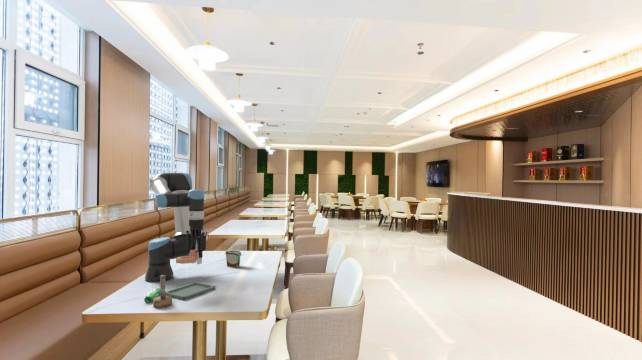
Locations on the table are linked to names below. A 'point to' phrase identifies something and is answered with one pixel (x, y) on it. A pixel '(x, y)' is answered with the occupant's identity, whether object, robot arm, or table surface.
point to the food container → (233, 258)
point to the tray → (189, 291)
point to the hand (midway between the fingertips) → (196, 263)
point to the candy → (152, 296)
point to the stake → (162, 296)
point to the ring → (188, 257)
